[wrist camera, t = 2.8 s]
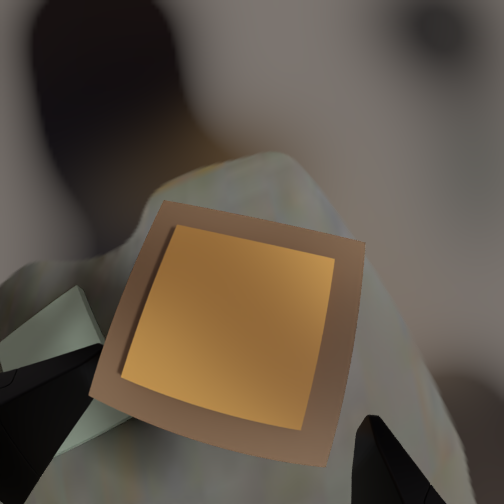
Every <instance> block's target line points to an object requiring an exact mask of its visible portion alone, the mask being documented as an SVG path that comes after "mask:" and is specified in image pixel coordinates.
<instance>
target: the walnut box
mask: <svg viewBox="0 0 504 504" xmlns="http://www.w3.org/2000/svg"><path fill="white" fill-rule="evenodd" d="M364 255H365V242H361V241H357V240H352V239H348V238H344V237H340V236H335V235H331V234H327V233H322V232H318V231H314V230H309V229H305V228H300V227H295V226H291V225H286V224H282V223H277V222H272V221H268V220H263V219H258V218H253V217H248V216H244V215H239V214H234V213H229V212H224V211H219V210H213V209H208V208H203V207H198V206H193V205H187V204H182V203H176V202H171V201H165V200H164V201H163V203H162V205H161V207H160V209H159V211H158V214H157V216H156V218H155V220H154V222H153V224H152V226H151V228H150V231H149V233H148V235H147V237H146V239H145V242H144V244H143V246H142V248H141V251H140V253H139V255H138V257H137V260H136V262H135V264H134V267H133V269H132V272H131V274H130V276H129V279H128V281H127V284H126V286H125V289H124V291H123V294H122V297H121V299H120V302H119V304H118V307H117V310H116V312H115V315H114V318H113V320H112V323H111V326H110V329H109V332H108V335H107V337H106V340H105V343H104V346H103V349H102V352H101V355H100V358H99V362H98V365H97V368H96V371H95V374H94V378H93V381H92V385H91V388H90V392H89V396H91V397H92V398H94V399H96V400H98V401H100V402H102V403H104V404H106V405H108V406H111V407H113V408H115V409H117V410H119V411H121V412H123V413H126V414H128V415H130V416H132V417H135V418H137V419H139V420H142V421H144V422H147V423H149V424H152V425H154V426H157V427H159V428H162V429H165V430H167V431H170V432H173V433H176V434H179V435H181V436H184V437H187V438H190V439H193V440H197V441H200V442H203V443H206V444H210V445H213V446H217V447H220V448H224V449H228V450H232V451H235V452H240V453H244V454H248V455H252V456H257V457H262V458H267V459H272V460H277V461H283V462H289V463H295V464H302V465H310V466H318V467H326V464H327V461H328V457H329V454H330V450H331V447H332V443H333V439H334V436H335V432H336V428H337V424H338V420H339V416H340V411H341V407H342V403H343V398H344V393H345V389H346V384H347V379H348V374H349V368H350V363H351V357H352V352H353V346H354V339H355V333H356V326H357V319H358V312H359V304H360V296H361V287H362V277H363V267H364Z"/></svg>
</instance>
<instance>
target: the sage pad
mask: <svg viewBox="0 0 504 504" xmlns="http://www.w3.org/2000/svg"><path fill="white" fill-rule="evenodd" d="M96 343H101V344H103V345H104V343H105V339H104V337H103V335H102V333H101V331H100V328H99V326H98V324H97V322H96V320H95V317H94V315H93V313H92V310H91V308H90V306H89V303H88V301H87V298H86V296H85V293H84V291H83V289H82V288H80V287H79V286H78V285H76V286H74V287H73V288H72V289H70V290H69V291H67V292H66V293H64V294H63V295H62V296H60V297H59V298H57V299H56V300H55V301H53V302H52V303H51V304H49V305H48V306H47V307H45V308H44V309H42V310H41V311H40V312H38V313H37V314H36V315H34V316H33V317H32V318H30V319H29V320H28V321H27V322H25V323H24V324H23V325H21V326H20V327H19V328H17V329H16V330H15V331H14V332H12V333H11V334H10V335H9V336H7V337H6V338H5V339H4V340H2V341H1V342H0V362H1V366H2V369H3V372H6V371H10V370H13V369H18V368H20V367H23V366H27V365H30V364H33V363H37V362H40V361H43V360H46V359H49V358H53V357H56V356H59V355H62V354H65V353H68V352H72V351H75V350H78V349H81V348H84V347H87V346H90V345H93V344H96ZM130 418H132V416H130V415H128V414H126V413H123V412H121V411H119V410H117V409H115V408H113V407H111V406H108V405H106V404H104V403H102V402H100V401H98V400H96V399H93V401H92V402H91V404H90V405H89V407H88V408H87V409H86V411H85V412H84V414H83V415H82V416H81V418H80V419H79V421H78V422H77V424H76V425H75V427H74V428H73V429H72V431H71V432H70V434H69V435H68V437H67V438H66V440H65V441H64V443H63V444H62V445H61V447H60V448H59V450H58V451H57V453H56V454H55V456H54V457H56V456H58V455H60V454H63V453H65V452H67V451H69V450H71V449H73V448H75V447H77V446H79V445H81V444H83V443H85V442H87V441H89V440H91V439H93V438H95V437H97V436H99V435H101V434H103V433H104V432H106V431H108V430H110V429H112V428H114V427H116V426H118V425H119V424H121V423H123V422H125V421H127V420H128V419H130ZM54 457H53V458H54Z"/></svg>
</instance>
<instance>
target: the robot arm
mask: <svg viewBox="0 0 504 504" xmlns="http://www.w3.org/2000/svg"><path fill="white" fill-rule="evenodd" d="M103 346H104V345H103V344H101V343H96V344H93V345H90V346H87V347H84V348H81V349H78V350H75V351H72V352H68V353H65V354H62V355H59V356H56V357H53V358H49V359H46V360H43V361H40V362H37V363H33V364H30V365H27V366H23V367H20V368H18V369H13V370H10V371H6V372H2V373H0V501H1V502H2V503H3V504H24V503H25V501H26V499H27V498H28V496H29V495H30V493H31V491H32V490H33V488H34V487H35V485H36V484H37V482H38V481H39V479H40V477H41V476H42V474H43V473H44V471H45V469H46V468H47V466H48V465H49V463H50V462H51V460H52V459H53V457H54V456H55V454H56V453H57V451H58V450H59V448H60V447H61V445H62V444H63V443H64V441H65V440H66V438H67V437H68V435H69V434H70V432H71V431H72V429H73V428H74V427H75V425H76V424H77V422H78V421H79V419H80V418H81V416H82V415H83V414H84V412H85V411H86V409H87V408H88V407H89V405H90V404H91V402H92V401H93V399H94V398H92V397H91V396H89V392H90V388H91V385H92V381H93V378H94V374H95V371H96V368H97V365H98V362H99V358H100V355H101V352H102V349H103ZM351 504H446V503H445V501H444V500H443V499H442V498H441V497H440V495H439V494H438V493H437V492H436V490H435V489H434V488H433V486H432V485H430V482H429V481H428V480H427V478H426V477H425V476H424V474H423V473H422V472H421V470H420V469H419V468H418V466H417V465H416V464H415V463H414V461H413V460H412V459H411V457H410V456H409V455H408V453H407V452H406V451H405V449H404V448H403V447H402V445H401V444H400V443H399V441H398V440H397V439H396V437H395V436H394V435H393V433H392V432H391V431H390V429H389V428H388V427H387V425H386V424H385V423H384V421H383V420H382V419H381V418H380V417H379V416H377V415H367V416H366V417H365V419H364V420H363V422H362V423H361V425H360V426H359V428H358V430H357V432H356V438H355V448H354V458H353V466H352V494H351Z"/></svg>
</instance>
